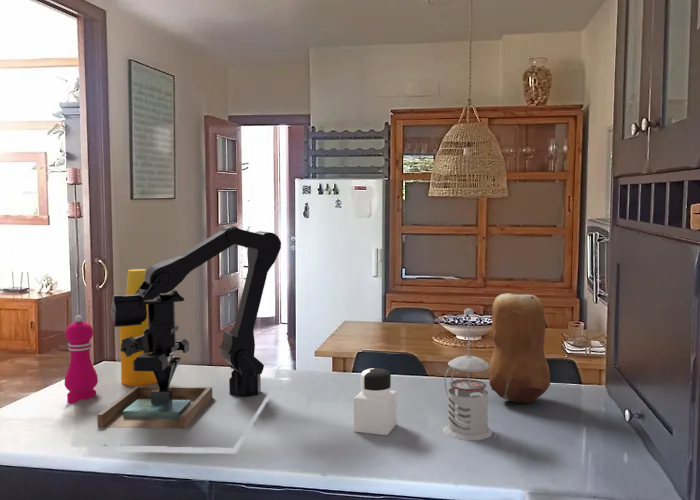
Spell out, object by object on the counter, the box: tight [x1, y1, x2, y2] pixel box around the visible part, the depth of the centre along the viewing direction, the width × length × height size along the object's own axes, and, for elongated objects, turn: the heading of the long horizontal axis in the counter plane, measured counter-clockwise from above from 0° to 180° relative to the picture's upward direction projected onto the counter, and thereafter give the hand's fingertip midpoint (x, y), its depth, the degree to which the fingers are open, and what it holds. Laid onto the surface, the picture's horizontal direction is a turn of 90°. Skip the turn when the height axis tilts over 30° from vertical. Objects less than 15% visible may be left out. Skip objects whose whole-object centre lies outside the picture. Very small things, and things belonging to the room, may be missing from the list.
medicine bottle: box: [353, 367, 398, 436], centre depth 135 cm, size 7×7×12 cm
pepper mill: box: [64, 314, 99, 405], centre depth 154 cm, size 7×7×20 cm
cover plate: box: [123, 389, 191, 419], centre depth 142 cm, size 12×8×4 cm, turn 86°
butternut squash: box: [488, 292, 551, 405], centre depth 151 cm, size 14×13×25 cm
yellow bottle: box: [119, 268, 158, 387], centre depth 166 cm, size 9×9×29 cm
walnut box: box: [96, 385, 214, 430], centre depth 143 cm, size 18×20×4 cm
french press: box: [443, 308, 493, 441], centre depth 133 cm, size 10×12×25 cm
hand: (163, 392), depth 146 cm, fingers closed
